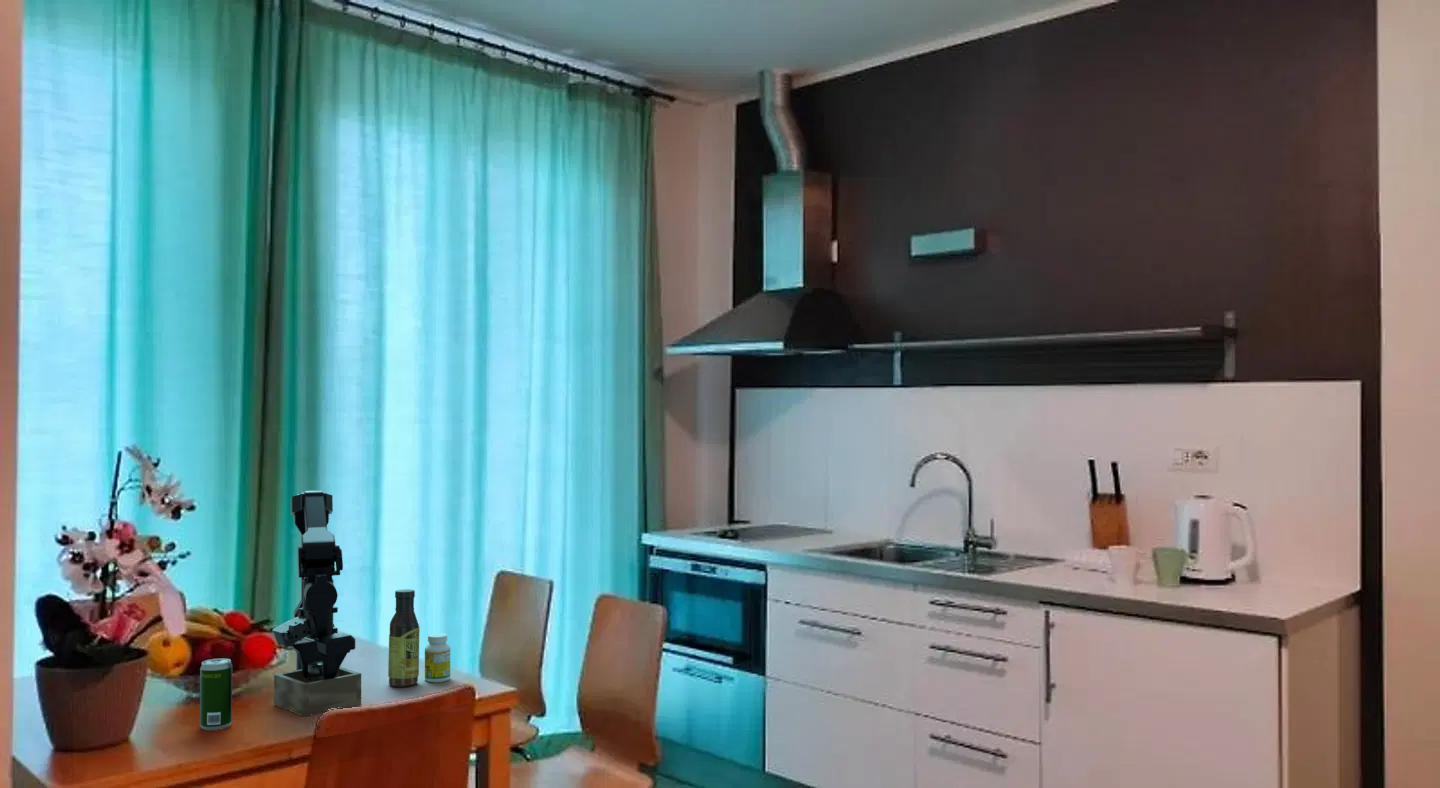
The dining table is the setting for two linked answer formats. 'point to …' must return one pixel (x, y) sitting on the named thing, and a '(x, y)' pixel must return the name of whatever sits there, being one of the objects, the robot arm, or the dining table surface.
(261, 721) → the dining table surface
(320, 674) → the plunger
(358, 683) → the frame
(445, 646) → the supplement bottle
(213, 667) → the beer can
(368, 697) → the dining table surface
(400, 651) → the sauce bottle
